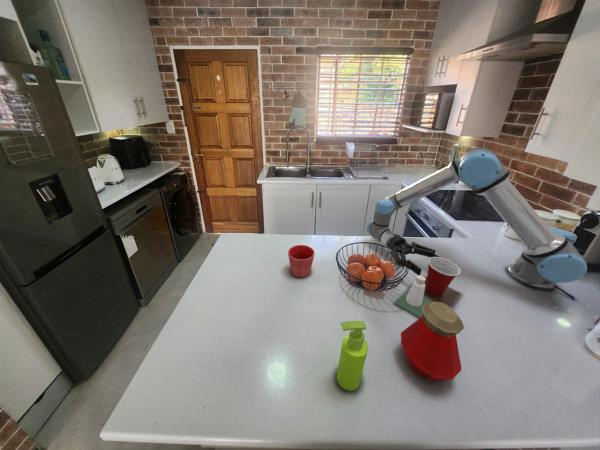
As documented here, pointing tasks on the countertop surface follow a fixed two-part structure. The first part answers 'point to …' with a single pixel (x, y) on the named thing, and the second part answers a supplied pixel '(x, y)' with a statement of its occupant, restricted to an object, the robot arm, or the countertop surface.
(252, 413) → the countertop surface
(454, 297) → the walnut pad
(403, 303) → the sage mat
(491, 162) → the robot arm
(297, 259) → the flower pot
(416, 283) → the pepper shaker
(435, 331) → the bottle
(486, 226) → the countertop surface
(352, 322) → the soap dispenser
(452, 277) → the plastic cup
